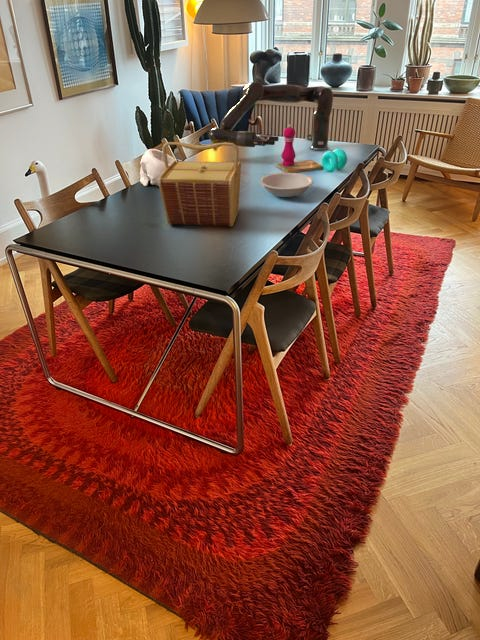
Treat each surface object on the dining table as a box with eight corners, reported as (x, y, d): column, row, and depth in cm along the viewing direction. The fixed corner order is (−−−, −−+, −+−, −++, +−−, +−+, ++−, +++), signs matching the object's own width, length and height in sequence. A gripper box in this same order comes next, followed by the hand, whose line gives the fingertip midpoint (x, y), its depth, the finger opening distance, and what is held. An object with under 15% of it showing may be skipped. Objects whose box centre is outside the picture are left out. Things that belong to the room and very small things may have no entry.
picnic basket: (160, 230, 185) (151, 150, 168) (177, 207, 206) (170, 134, 190) (235, 233, 181) (233, 151, 165) (244, 209, 202) (243, 134, 186)
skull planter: (147, 173, 243) (156, 140, 229) (176, 196, 240) (187, 165, 226) (128, 180, 233) (137, 146, 220) (158, 205, 230) (169, 172, 217)
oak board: (277, 166, 255) (277, 163, 254) (311, 162, 260) (311, 159, 259) (287, 173, 244) (287, 170, 243) (323, 169, 248) (323, 166, 248)
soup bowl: (319, 189, 221) (320, 175, 218) (302, 206, 203) (303, 191, 199) (271, 184, 230) (271, 170, 226) (251, 199, 212) (250, 185, 208)
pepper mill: (296, 163, 253) (297, 123, 242) (293, 166, 248) (295, 125, 237) (282, 162, 255) (283, 122, 244) (280, 166, 249) (281, 125, 238)
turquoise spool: (319, 170, 248) (321, 150, 242) (332, 166, 253) (333, 146, 248) (334, 174, 241) (336, 153, 236) (347, 169, 247) (349, 150, 241)
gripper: (242, 134, 243) (273, 136, 239) (250, 128, 254) (279, 130, 250) (242, 149, 247) (273, 151, 243) (250, 143, 258) (279, 145, 254)
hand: (276, 140), depth 246 cm, fingers open, 8 cm apart
